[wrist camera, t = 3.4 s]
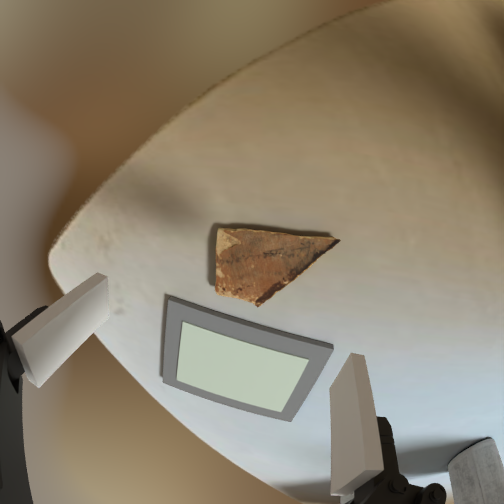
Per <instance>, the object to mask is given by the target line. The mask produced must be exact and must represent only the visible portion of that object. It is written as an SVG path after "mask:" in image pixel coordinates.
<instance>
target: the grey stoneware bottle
mask: <svg viewBox="0 0 504 504" xmlns="http://www.w3.org/2000/svg"><path fill="white" fill-rule="evenodd" d="M448 471H449V476H450V481H451V486H452V492H453V497H454V504H504V467H503V464H502V461H501V458H500V455H499V452H498V449H497V446H496V444H495V441H494V440H493V439H486V440H483V441H481V442H479V443H477V444H475V445H473V446H471V447H469V448H468V449H466V450H464V451H463V452H462V453H460V454H459V455H457V456H456V457H455V458H453V459H452V460H451V462H450V463H449V464H448Z"/></svg>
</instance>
